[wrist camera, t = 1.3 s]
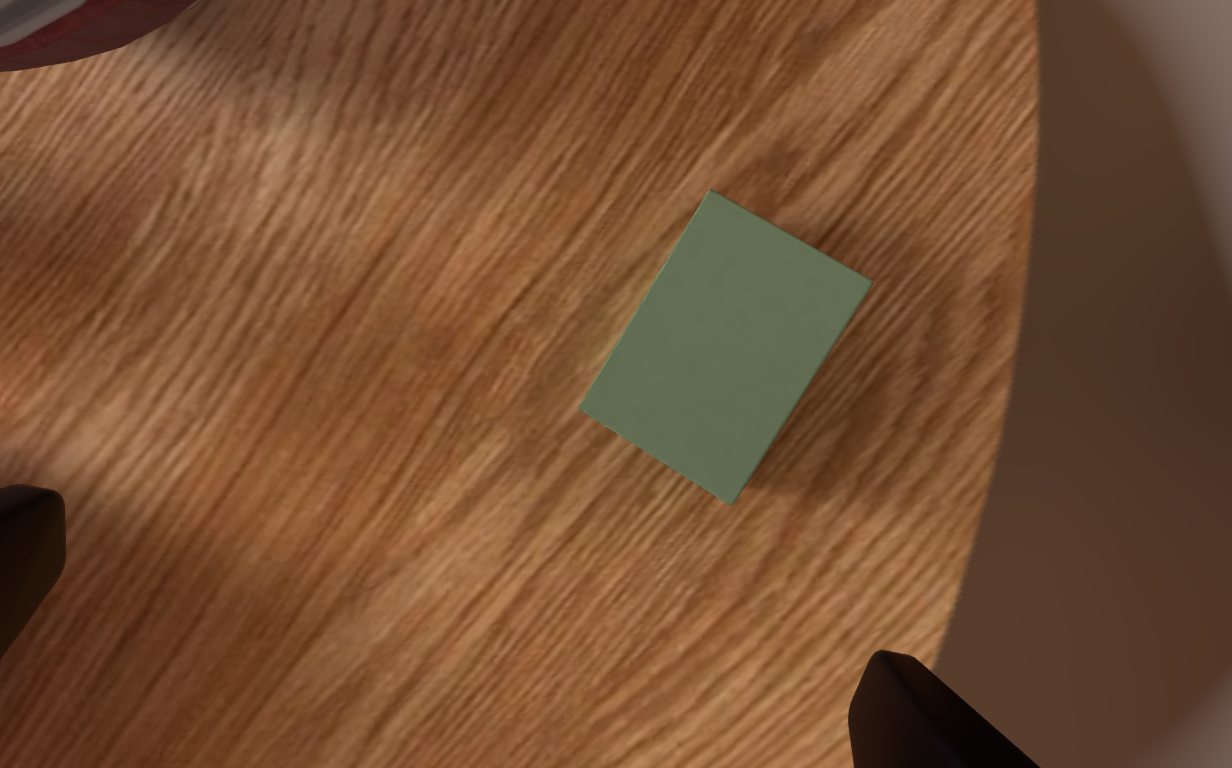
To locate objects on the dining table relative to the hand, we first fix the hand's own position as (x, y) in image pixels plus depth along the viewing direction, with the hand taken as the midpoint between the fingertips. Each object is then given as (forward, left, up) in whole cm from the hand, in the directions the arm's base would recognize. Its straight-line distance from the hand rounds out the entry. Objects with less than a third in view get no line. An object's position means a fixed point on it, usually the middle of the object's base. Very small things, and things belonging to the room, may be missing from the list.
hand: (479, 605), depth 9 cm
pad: (+1, -4, -17) cm, 18 cm away
